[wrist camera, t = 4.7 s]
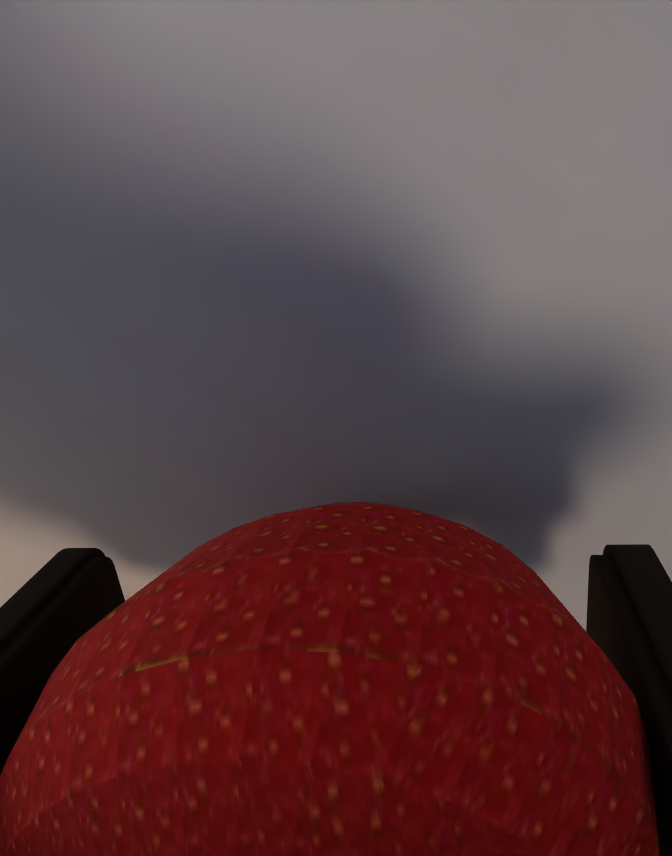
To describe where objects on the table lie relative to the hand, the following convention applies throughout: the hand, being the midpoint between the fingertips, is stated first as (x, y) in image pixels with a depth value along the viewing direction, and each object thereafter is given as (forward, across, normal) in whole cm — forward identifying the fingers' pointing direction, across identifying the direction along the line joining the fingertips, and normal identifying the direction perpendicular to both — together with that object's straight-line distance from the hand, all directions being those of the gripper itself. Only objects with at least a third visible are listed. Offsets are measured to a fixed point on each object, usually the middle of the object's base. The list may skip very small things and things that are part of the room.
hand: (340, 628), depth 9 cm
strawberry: (+3, 0, 0) cm, 3 cm away
